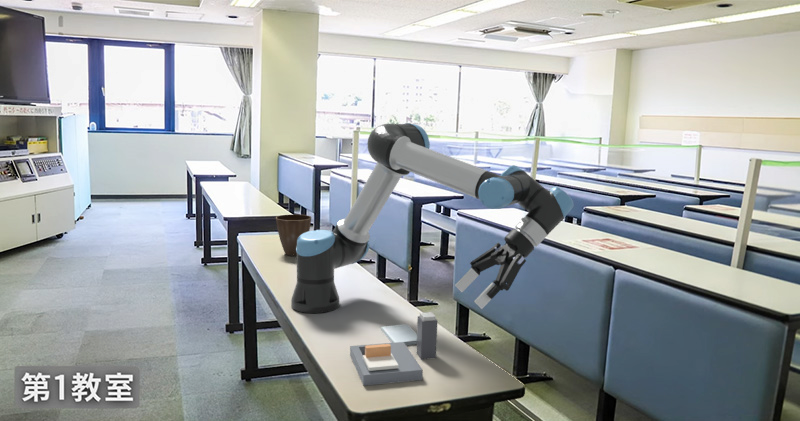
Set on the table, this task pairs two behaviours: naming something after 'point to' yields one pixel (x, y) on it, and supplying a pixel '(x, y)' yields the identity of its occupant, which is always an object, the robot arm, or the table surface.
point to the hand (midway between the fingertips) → (467, 296)
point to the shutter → (379, 357)
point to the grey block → (426, 336)
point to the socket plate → (403, 373)
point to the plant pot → (292, 230)
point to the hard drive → (400, 334)
